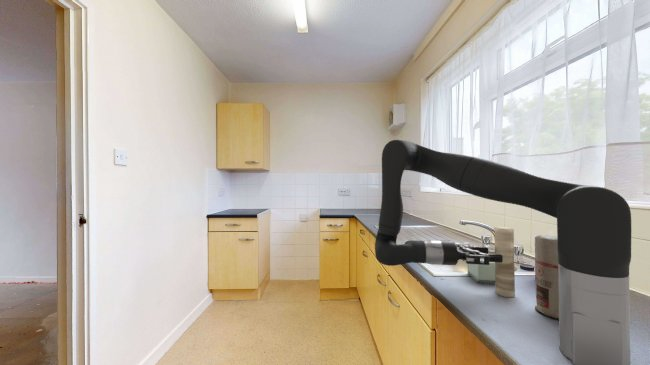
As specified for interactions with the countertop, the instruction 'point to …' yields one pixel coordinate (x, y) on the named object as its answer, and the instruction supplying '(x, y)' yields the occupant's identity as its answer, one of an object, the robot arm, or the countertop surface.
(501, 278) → the birch dowel
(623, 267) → the robot arm
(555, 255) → the white labelled canister
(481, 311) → the countertop surface
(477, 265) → the pale green open box
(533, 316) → the countertop surface
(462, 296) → the countertop surface
